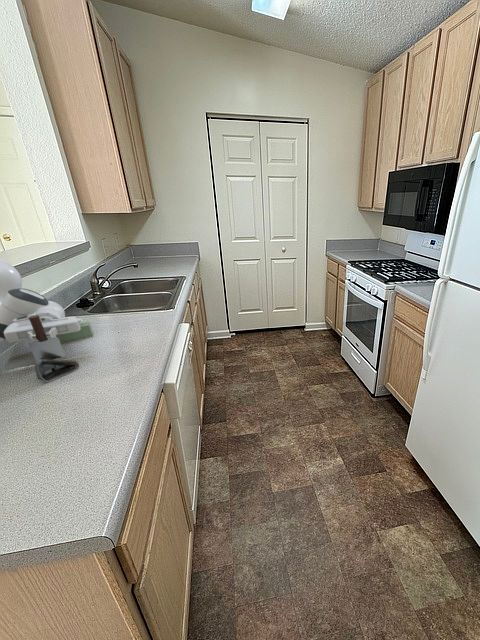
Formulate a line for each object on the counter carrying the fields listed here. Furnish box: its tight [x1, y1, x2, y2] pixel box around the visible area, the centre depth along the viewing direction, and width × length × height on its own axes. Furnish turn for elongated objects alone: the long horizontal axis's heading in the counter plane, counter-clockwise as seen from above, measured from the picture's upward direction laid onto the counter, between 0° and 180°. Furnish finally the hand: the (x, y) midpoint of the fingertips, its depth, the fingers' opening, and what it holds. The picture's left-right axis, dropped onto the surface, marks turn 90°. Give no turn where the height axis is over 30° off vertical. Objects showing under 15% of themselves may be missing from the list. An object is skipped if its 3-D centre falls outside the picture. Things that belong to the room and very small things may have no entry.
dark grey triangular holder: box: [34, 359, 80, 383], centre depth 109 cm, size 10×7×12 cm
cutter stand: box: [55, 321, 94, 343], centre depth 135 cm, size 12×5×6 cm, turn 118°
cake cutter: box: [27, 315, 66, 363], centre depth 105 cm, size 8×3×15 cm, turn 119°
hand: (41, 337), depth 104 cm, fingers closed on cake cutter, 2 cm apart
